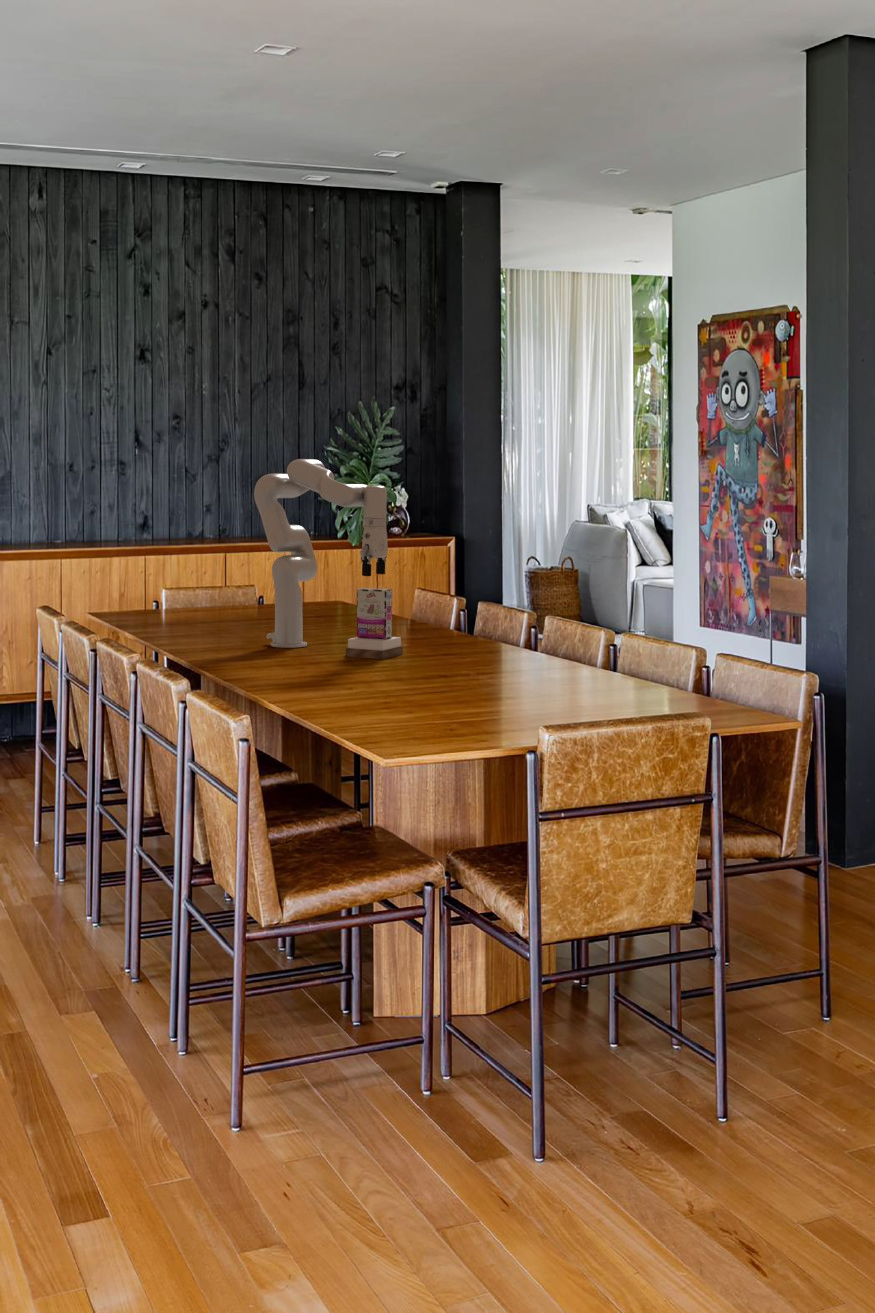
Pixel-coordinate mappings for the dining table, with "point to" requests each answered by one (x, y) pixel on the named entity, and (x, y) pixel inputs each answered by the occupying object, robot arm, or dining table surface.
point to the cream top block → (374, 643)
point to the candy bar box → (374, 613)
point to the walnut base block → (374, 653)
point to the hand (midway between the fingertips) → (373, 575)
